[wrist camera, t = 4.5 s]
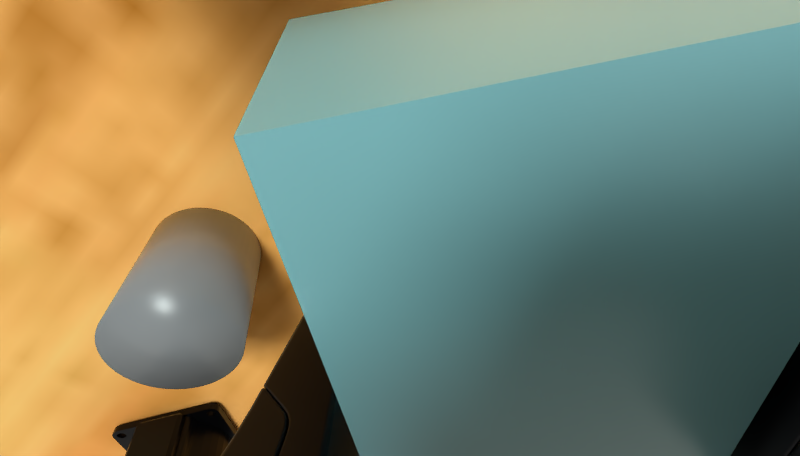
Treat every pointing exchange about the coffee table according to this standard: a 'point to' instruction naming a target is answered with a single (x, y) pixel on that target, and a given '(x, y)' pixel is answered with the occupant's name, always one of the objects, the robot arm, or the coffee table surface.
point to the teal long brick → (539, 218)
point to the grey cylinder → (184, 302)
